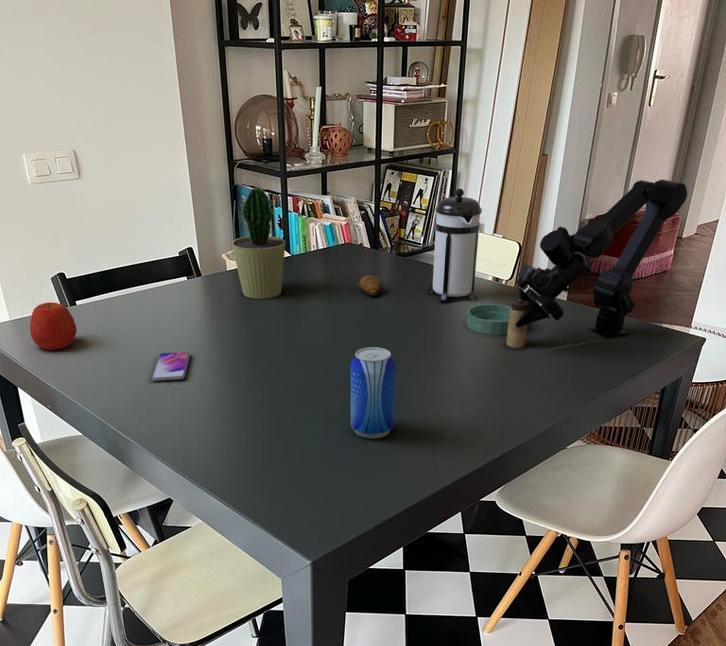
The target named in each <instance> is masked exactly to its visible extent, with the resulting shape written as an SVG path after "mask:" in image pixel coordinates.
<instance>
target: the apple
mask: <svg viewBox="0 0 726 646" xmlns="http://www.w3.org/2000/svg"><path fill="white" fill-rule="evenodd" d="M29 332H30V337H31V339H32V340H33V343H34V344H35V345H36V346H37V347H39V348H40V349H41V350H47V351H58V350H60V349H64V348H67V347H68V346H71V345H72V344H73V342H74V339H75V337H76V335H77V332H78V330H77V326H76V322H75V319H74V317H73V315H72V314H71V312H70V311H69V309H68V308H67V307H66V306H65V305H64V304H61V303H59V302H52V301H50V302H43V303H41V304H38V305H36V307H34V308H33V309H32V313H31V317H30V322H29Z"/></svg>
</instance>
